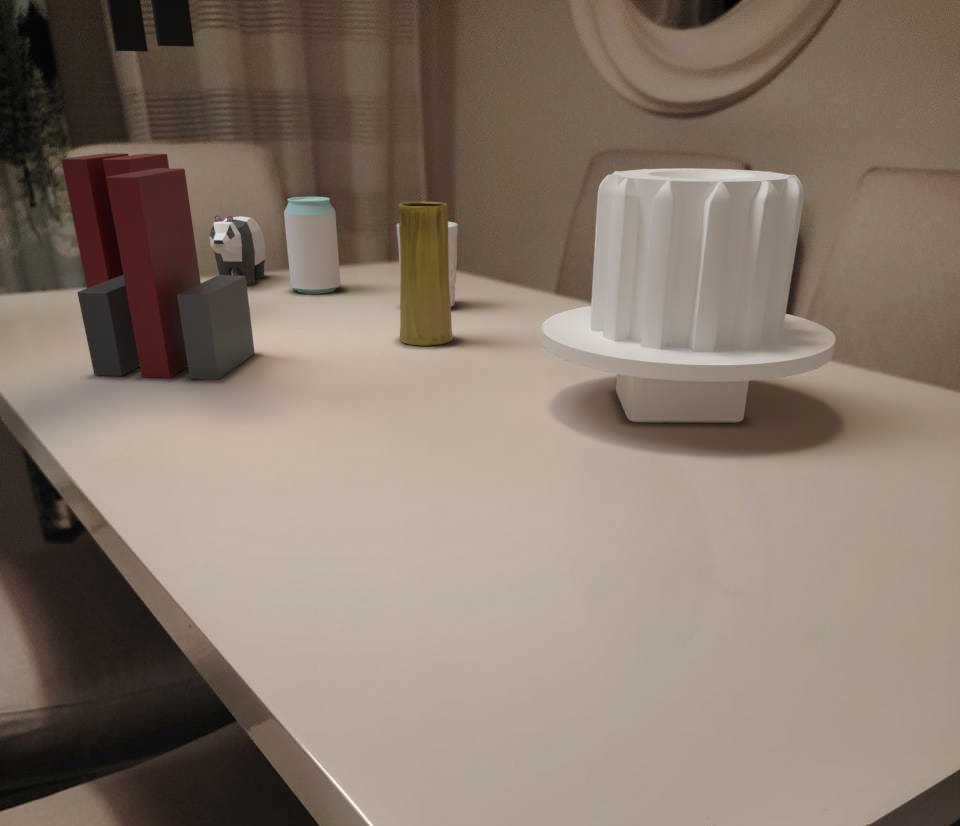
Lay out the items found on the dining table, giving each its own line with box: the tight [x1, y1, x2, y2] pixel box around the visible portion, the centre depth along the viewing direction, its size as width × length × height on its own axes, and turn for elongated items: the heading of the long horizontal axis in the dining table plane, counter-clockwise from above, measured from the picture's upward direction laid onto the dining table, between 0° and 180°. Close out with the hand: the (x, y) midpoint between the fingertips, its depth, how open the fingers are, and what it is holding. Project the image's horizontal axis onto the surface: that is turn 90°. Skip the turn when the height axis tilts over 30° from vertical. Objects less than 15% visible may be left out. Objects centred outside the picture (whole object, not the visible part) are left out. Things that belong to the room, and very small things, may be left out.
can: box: [283, 196, 341, 295], centre depth 132 cm, size 7×7×12 cm
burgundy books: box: [60, 152, 170, 289], centre depth 116 cm, size 8×11×18 cm
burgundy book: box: [106, 167, 202, 379], centre depth 94 cm, size 3×11×18 cm, turn 173°
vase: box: [398, 201, 454, 347], centre depth 104 cm, size 6×6×14 cm
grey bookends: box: [77, 274, 256, 381], centre depth 96 cm, size 13×11×8 cm
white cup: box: [395, 221, 459, 308], centre depth 123 cm, size 8×8×10 cm
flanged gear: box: [540, 167, 836, 424], centre depth 80 cm, size 25×25×19 cm
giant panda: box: [208, 215, 267, 286], centre depth 137 cm, size 15×6×10 cm, turn 176°
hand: (152, 49), depth 79 cm, fingers open, 13 cm apart
